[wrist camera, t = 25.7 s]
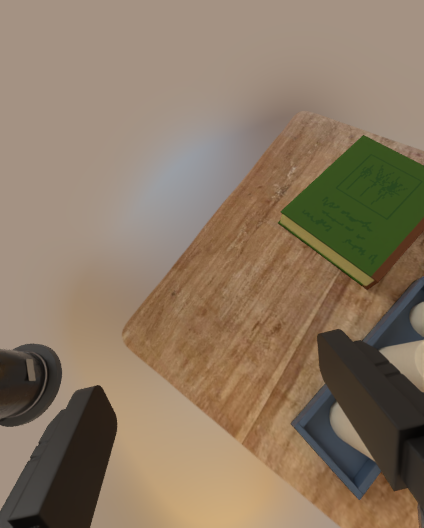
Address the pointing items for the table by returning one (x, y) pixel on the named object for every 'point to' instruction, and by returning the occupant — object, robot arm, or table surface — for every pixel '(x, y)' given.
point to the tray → (317, 410)
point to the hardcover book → (361, 210)
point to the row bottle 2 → (417, 318)
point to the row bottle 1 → (408, 360)
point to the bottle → (346, 429)
